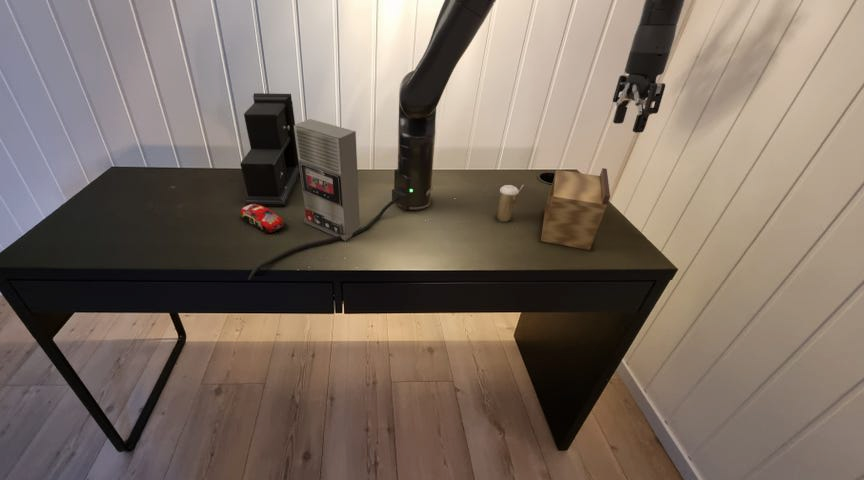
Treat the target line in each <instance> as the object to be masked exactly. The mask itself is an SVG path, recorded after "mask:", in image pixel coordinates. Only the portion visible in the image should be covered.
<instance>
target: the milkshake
mask: <svg viewBox="0 0 864 480" xmlns="http://www.w3.org/2000/svg"><path fill="white" fill-rule="evenodd" d="M523 187H524V184H522V185H521V187H520V188H519V189H518V188H517V186H514V185H512V184H504V185H502V186H501V187H500V188H499V195H498V205H497V215H496V219H497V220H498V221H500V222H503V223H504V222H505V223H507V222H509V221H510V220H511V217H512V214H513V211H514V207H515V205H516V201H517V198H518V196H519V192H520V191H521V190H522V188H523Z"/></svg>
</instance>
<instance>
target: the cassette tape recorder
mask: <svg viewBox="0 0 864 480" xmlns="http://www.w3.org/2000/svg"><path fill="white" fill-rule="evenodd" d="M294 132H295V140H296V147H297V154H298V161H299V169H300V174H299V176H300V183H301V189H302V197H303V205H304V211H305V218H303V221H304V224H306V225H309V226H311V227H314V228H315V229H318V230H320V231H322V232H325V233H326V234H329V235H331V236H332V237H333V236H334V237H337V236H341V239H340V240H343V241H344V242H345V241H348V240H349V239H350V238H352V237H353V236H352V234H353V233H354V232H355V231H357V230H359V229H361V228H362V227H361V221H360V220H361V219H360V198H359V197H360V196H359V178H358V174H359V173H358V156H357V154H358V153H357V135H356V134H357V132H356V130H352V129H348V128H345V127H341V126H337V125H334V124H330V123H326V122H323V121H320V120H316V119H312V118H309V119H307V120H303V121H301V122H298V123H295V125H294Z"/></svg>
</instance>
